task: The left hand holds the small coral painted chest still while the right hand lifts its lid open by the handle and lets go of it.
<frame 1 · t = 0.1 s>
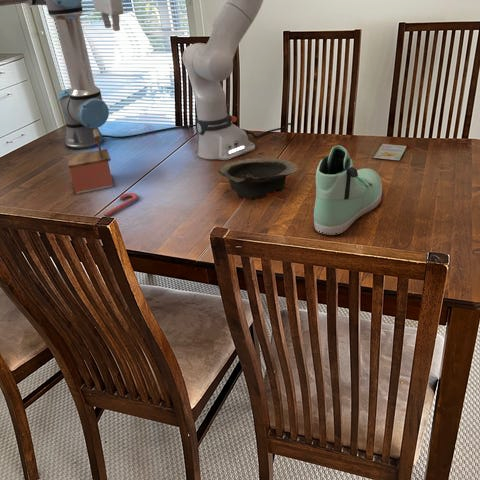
right hand: (112, 29, 148), 48 cm above the table, tool pointing down, fingers open, 8 cm apart
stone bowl: (258, 188, 155), on the table
sneaker: (348, 208, 139), on the table
baking ingredient package: (390, 152, 173), on the table
candy cane: (120, 206, 150), on the table
chest: (93, 184, 166), on the table
lid: (86, 147, 159), point 14 cm above the table, hinge at 0.0°
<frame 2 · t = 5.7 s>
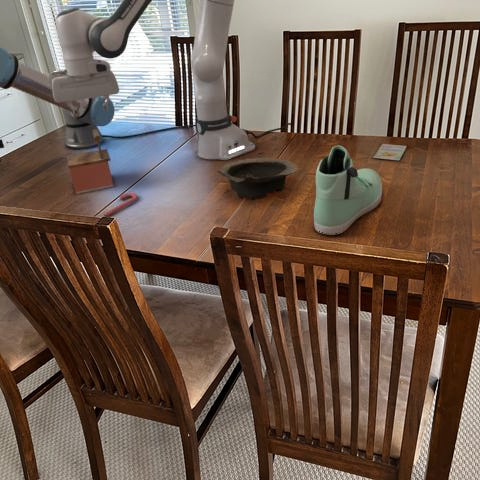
left hand: (1, 150, 151), 17 cm above the table, tool horizontal, fingers open, 13 cm apart
right hand: (91, 111, 155), 25 cm above the table, tool pointing down, fingers open, 8 cm apart
nothing on the table moved.
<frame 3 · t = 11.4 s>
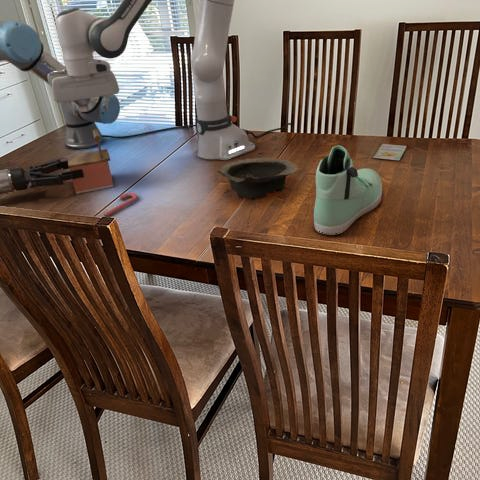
left hand: (82, 167, 162), 7 cm above the table, tool horizontal, fingers closed on chest, 10 cm apart
right hand: (91, 111, 155), 25 cm above the table, tool pointing down, fingers open, 8 cm apart
chest: (93, 184, 166), on the table, touching left hand
everything else where it was.
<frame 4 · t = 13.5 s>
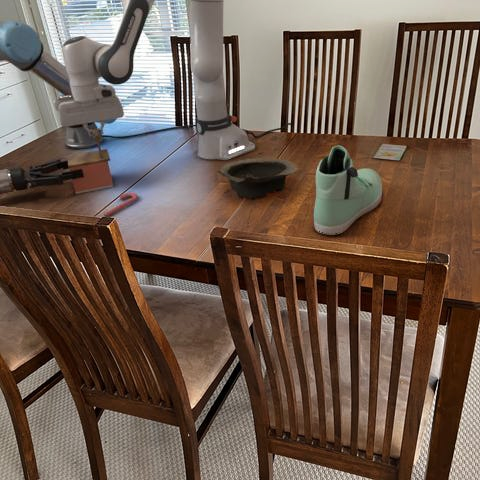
left hand: (82, 167, 162), 7 cm above the table, tool horizontal, fingers closed on chest, 10 cm apart
right hand: (96, 134, 159), 17 cm above the table, tool pointing down, fingers closed on lid, 2 cm apart
chest: (93, 184, 166), on the table, touching left hand
lid: (85, 147, 160), point 14 cm above the table, hinge at -0.1°, touching right hand
everything else where it was.
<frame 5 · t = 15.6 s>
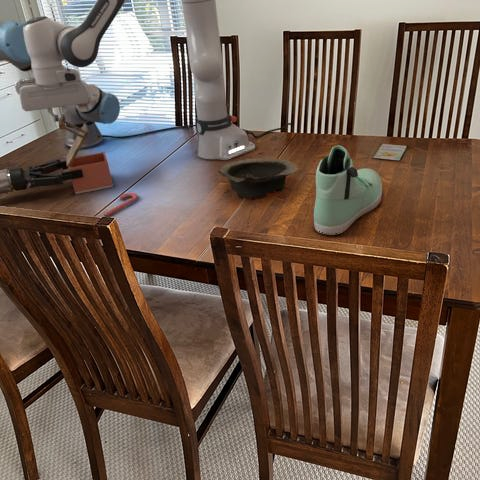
left hand: (81, 167, 162), 7 cm above the table, tool horizontal, fingers closed on chest, 10 cm apart
right hand: (60, 120, 153), 24 cm above the table, tool pointing down, fingers closed, pressing on lid
chest: (93, 184, 166), on the table, touching left hand
lid: (65, 139, 156), point 17 cm above the table, hinge at 50.0°, touching right hand
everything else where it was.
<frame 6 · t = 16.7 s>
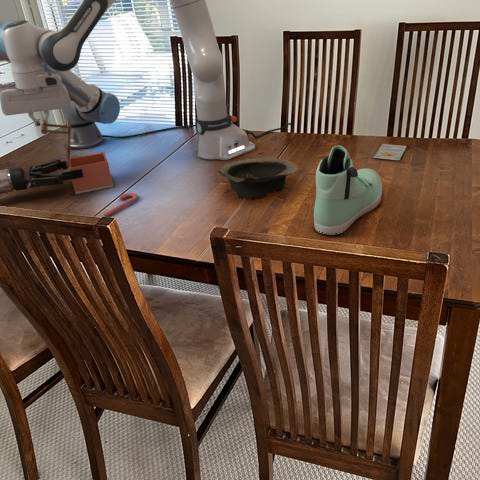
left hand: (81, 167, 162), 7 cm above the table, tool horizontal, fingers closed on chest, 10 cm apart
right hand: (42, 125, 152), 23 cm above the table, tool pointing down, fingers closed
chest: (93, 184, 166), on the table, touching left hand
lid: (55, 141, 155), point 17 cm above the table, hinge at 74.4°, touching right hand
everything else where it was.
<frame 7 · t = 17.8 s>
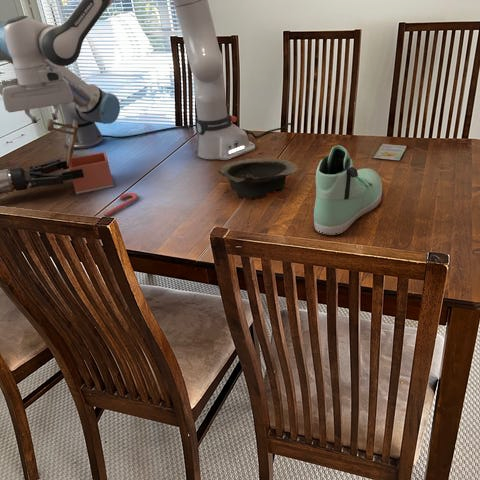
left hand: (82, 167, 162), 7 cm above the table, tool horizontal, fingers closed on chest, 10 cm apart
right hand: (45, 121, 151), 24 cm above the table, tool pointing down, fingers open, 5 cm apart
chest: (93, 184, 166), on the table, touching left hand
lid: (59, 140, 156), point 17 cm above the table, hinge at 65.8°
everything else where it was.
when the left hand's fingers open (7 cm above the table, at t = 20.8 s): chest stays where it is, on the table.
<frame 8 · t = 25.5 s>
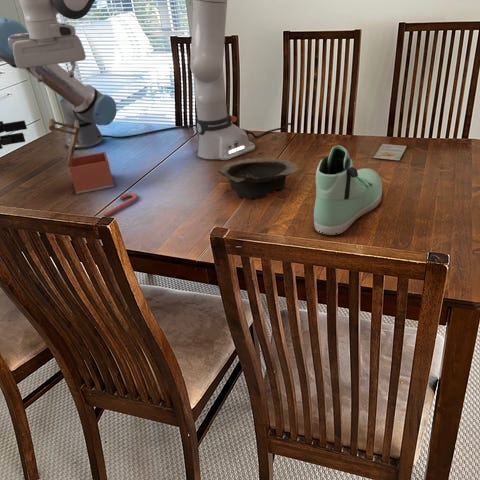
left hand: (25, 130, 151), 22 cm above the table, tool horizontal, fingers open, 13 cm apart
right hand: (56, 79, 147), 36 cm above the table, tool pointing down, fingers open, 8 cm apart
chest: (94, 184, 167), on the table
lid: (60, 139, 156), point 17 cm above the table, hinge at 64.2°
everything else where it was.
at the end: lid at +64° (first picture: +0°); the left hand is holding nothing; the right hand is holding nothing; chest tilted 0°; chest never tilted more than 1° during the clip; chest moved 0.1 cm from its start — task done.
